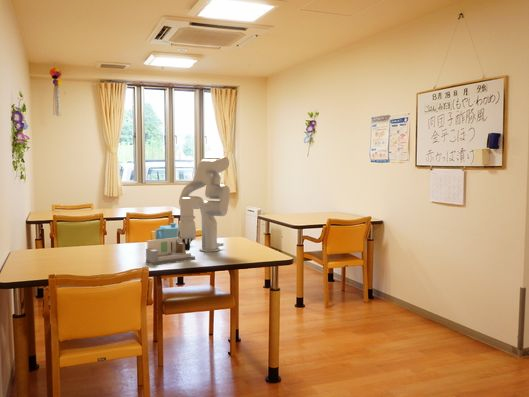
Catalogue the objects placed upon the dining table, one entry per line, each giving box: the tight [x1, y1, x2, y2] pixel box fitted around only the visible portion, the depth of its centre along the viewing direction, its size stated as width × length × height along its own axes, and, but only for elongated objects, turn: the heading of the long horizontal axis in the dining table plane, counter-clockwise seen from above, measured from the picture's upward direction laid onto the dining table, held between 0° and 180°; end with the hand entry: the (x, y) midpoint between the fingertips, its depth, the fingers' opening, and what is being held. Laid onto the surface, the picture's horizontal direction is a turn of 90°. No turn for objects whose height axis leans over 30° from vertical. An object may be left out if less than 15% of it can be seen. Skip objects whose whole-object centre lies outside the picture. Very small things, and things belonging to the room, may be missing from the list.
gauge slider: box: [168, 242, 185, 256], centre depth 288 cm, size 8×8×8 cm
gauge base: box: [145, 237, 196, 266], centre depth 286 cm, size 26×10×12 cm, turn 127°
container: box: [154, 222, 178, 240], centre depth 333 cm, size 17×25×15 cm
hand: (187, 250), depth 290 cm, fingers closed
